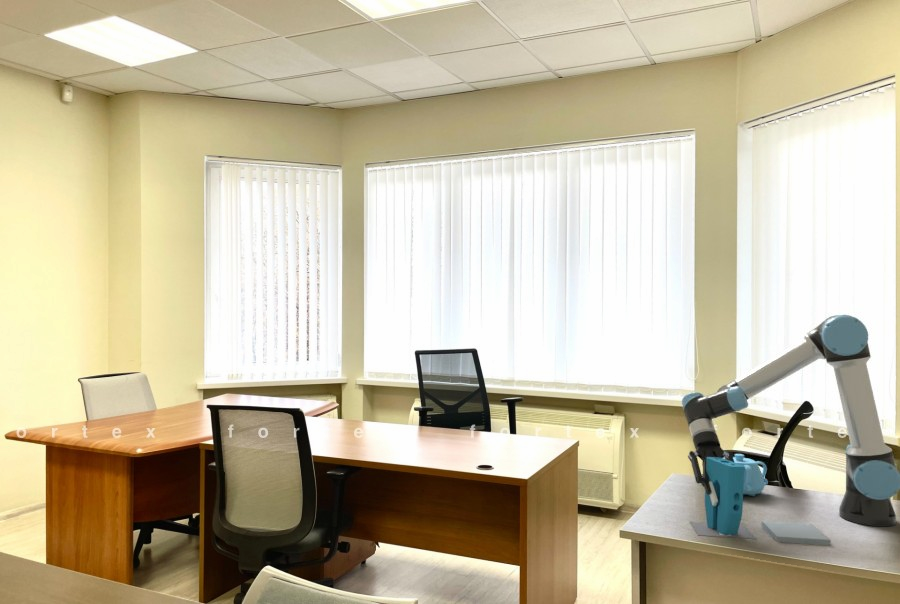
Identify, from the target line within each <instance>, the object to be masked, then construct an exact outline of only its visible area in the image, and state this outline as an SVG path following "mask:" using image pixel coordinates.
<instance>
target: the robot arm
mask: <svg viewBox="0 0 900 604" xmlns="http://www.w3.org/2000/svg"><path fill="white" fill-rule="evenodd" d="M868 341H869V332H868V329H867V327H866V325H865V324H864V323H863V322H862V321H861V320H860V319H859V318H857V317H855V316H853V315H849V314H838V315H831V316H829V317H828V318H826V319H824V320H823V321H822V322H821V323H820V324H819V325H817V326H816V327H815V328H813V329H811V330H810V331H809V332H807V333H805V334H804V338H803V339H802V340H801V339H800V341H798V342H796V343H795V344H793V345H792V346H790V347H788V348H786V349H785V350H783V351H782V352H780V353H778V354H776V355H774V356H773V357H771V358H769V359H768V360H766V361H764V362H763V363H761V364H759V365H758V366H756V367H754V368H752V369H751V370H749V371H748V372H746V373H744V374H743V375H740V376H739V377H737V378H736V379H735V380H732V381H731V382H729V383H727V384H724V385H722V386H721V387H720V388H718V390H717V392H715V393H712V394H708V395H704V394H703V393H701V392H699V391H698V392H697V391H696V392H689V393H686V394H685V395H684V396H683V397H682V400H681V404H682V409H683V411H682V412H683V413H684V416H685V419H686V422H687V426H688V429H689V432H690V435H691V439H692V442H693V446H694V448H695V449H694V450H695V451H693V450H690V451H689V453H688V455H687V459H689V461H690V463H691V467H692V471H693V475H694V480H695V482H696V483H697V484H701V486H702V487H703V488H704V490H705V491H706V493H707V494H709V495H710V498H711V501H712V505H713V506H716V504H717V502H718V499H717V496H716V493H715V490H714V486H713V484H712V482H711V481H709V476H708V474H707V472H706V460H707V457H720V458H725V459H726V460H729V461H732V462H734V459H733V457H734V452H733V451H728V452H727V451H724V449H723V448H722V447H721V442H720V440H719V437H718V434H717V431H716V427H715V424H714V423H713V422H714V421H713V420H714V419H717V418H719V417H722V416H725V415H729V414H732V413H736V412H740V411H742V410H743V409H747V408H748V407H749V402H748V400H749V399H751V398H752V397H754V396H756V395H758V394H760V393H761V392H763V391H765V390H766V389H768V388H770V387H772V386H773V385H775V384H777V383H779V382H781V381H782V380H784V379H786V378H787V377H790V376H791V375H793V374H795V373H796V372H799V371H800V370H801V369H803V368H806V367H807V366H809V365H810V364H812V363H814V362H816V361H817V360H819V359H822V360H825V361H826V364H828V365H829V366H831V367H832V368H833V370H834V375H835V380H836V384H837V389H838V394H839V398H840V402H841V407H842V412H843V416H844V420H845V425H846V430H847V435H848V439H849V443H850V444H847V446H846V449H845V464H846V465H845V492H844V495H843V498H842V500H841V502H840V505H839V509H838V510H839V511H838V515H839V517H840V518H842V519H844V520H847V521H848V522H853V523H856V524H860V525H867V526H871V527H892V526H895V525H896V524H897V515H896V511H895V509H894V507H893V504H892V501H891V498H893V497H894V496H895V495H897V493H898V492H900V471H899V470H898V469H897V465H896V461H895V457H894V453H893V449H892V448H891V447H890V446H889V445H887V444H886V443H885V440H884V436H883V432H882V427H881V423H880V419H879V413H878V410H877V405H876V400H875V397H874V392H873V387H872V383H871V377H870V375H869V371H868V370H869V369H868V365H867V363H868V361H869V360H870V359H871V357H872V356H871V352H870V347H869V342H868ZM698 458H699V460H701V461H702V463H701V464H702V465H701V466H702V470H701V466H700V463H699V460H698ZM705 491H704V492H705Z"/></svg>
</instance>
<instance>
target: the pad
mask: <svg viewBox="0 0 900 604" xmlns="http://www.w3.org/2000/svg"><path fill="white" fill-rule="evenodd" d="M761 527H762V528H763V529H764V530H765V531H766V532H767V533H768V535H770V536H771V538H773V540H775V541H776V543H791V544H803V545H805V544H806V545H817V546H819V545H821V546H832V545H831V543H832V541H831V539H830V538H829V537H828V536H827V535H825V534H824V533H823V532H822V531H821V530H820V529H819V528H817V527H816V526H815V525H814V524H813V523H806V522H805V523H802V522H787V521H773V520H772V521H771V520H770V521H769V520H761Z"/></svg>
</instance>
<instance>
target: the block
mask: <svg viewBox="0 0 900 604" xmlns="http://www.w3.org/2000/svg"><path fill="white" fill-rule="evenodd" d="M724 458H725V457H722V458H720V457H707V460H706V472H707V474H708V476H709V481H711V482H712V484H713V486H714V490H715V493H716V496H717V499H718V502H717V504H716V506H713V505H712V501H711V498H710V495H709V494H707V493H706V491H704V508H705V514H706V515H705V516H706V519H705V520H706V523H707V526H708V527H710V528H712V529H715V528H717V532H719V533H721V534H724V535H735V534H737V533H738V529H739V525H741V520H742V517H743V507H744V505H743V504H744V502H743V501H744V494H743V485H744V466H743V465H740V464H737V463H735V462H732V461H729V460H726V459H724Z"/></svg>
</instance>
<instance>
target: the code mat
mask: <svg viewBox="0 0 900 604" xmlns="http://www.w3.org/2000/svg"><path fill="white" fill-rule="evenodd" d="M689 524H690V525H691V527H692V529H693V530H694V532H695V533H696V535H697V536H698V537H700V536H701V537H714V538H715V537H716V538H728V539H729V538H731V539H743V540H744V539H745V540H746V539H747V540H757V538H756V536H755V535H754V534H753V533H752V532H751V530H750V529H749V528H748V527H747V526H746V525H745V524H744V525H743V524H740V525H739V529H738V533H737V534H735V535H724V534H721V533H719V532H717V528H715V529H712V528H710V527H708V526H707V522H699V521H698V522H697V521H689Z"/></svg>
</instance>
